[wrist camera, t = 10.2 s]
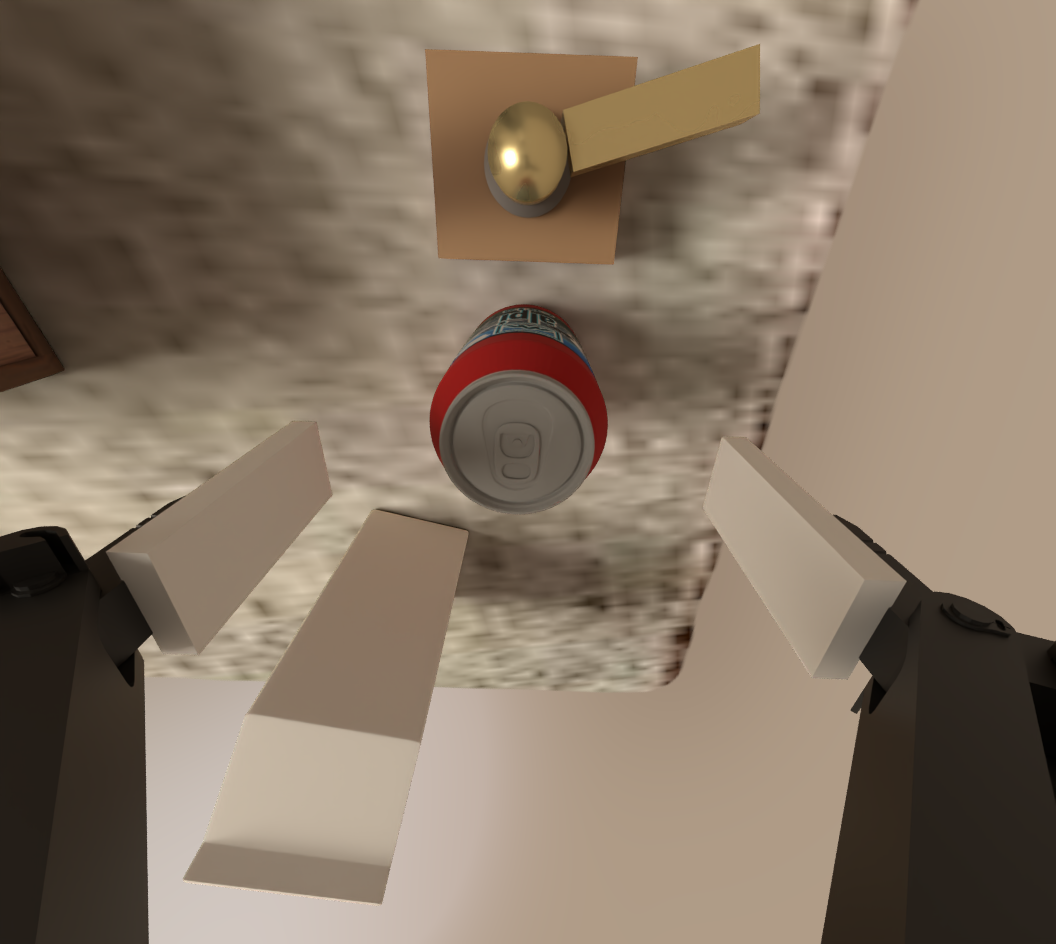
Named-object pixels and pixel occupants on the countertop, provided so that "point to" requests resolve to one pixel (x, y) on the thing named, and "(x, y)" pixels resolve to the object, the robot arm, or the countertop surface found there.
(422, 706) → the milk carton
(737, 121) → the lever
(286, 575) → the countertop surface
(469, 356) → the beverage can
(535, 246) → the pedestal
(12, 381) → the tissue box
